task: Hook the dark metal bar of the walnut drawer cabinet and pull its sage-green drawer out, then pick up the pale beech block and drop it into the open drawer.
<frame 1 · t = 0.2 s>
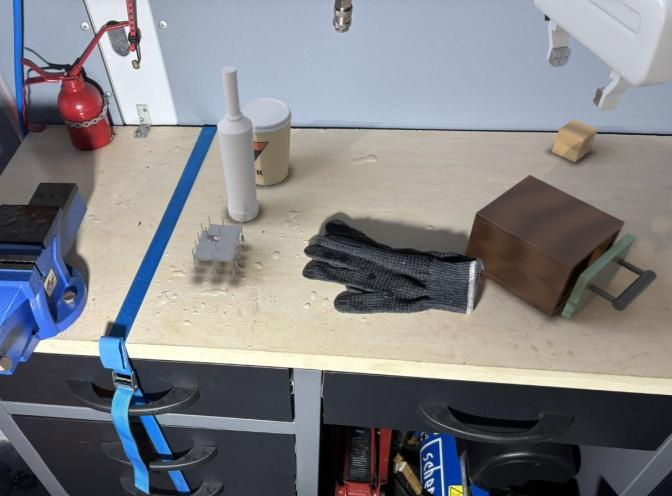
hand: (578, 84, 64), 31 cm above the table, tool pointing down, fingers open, 8 cm apart
beige lidded tub: (266, 173, 108), on the table
bottle: (243, 213, 100), on the table
cabinet: (530, 267, 89), on the table
drawer: (572, 262, 82), point 5 cm above the table, slide at 1.0 cm
block: (570, 151, 107), on the table
building frame: (221, 263, 92), on the table
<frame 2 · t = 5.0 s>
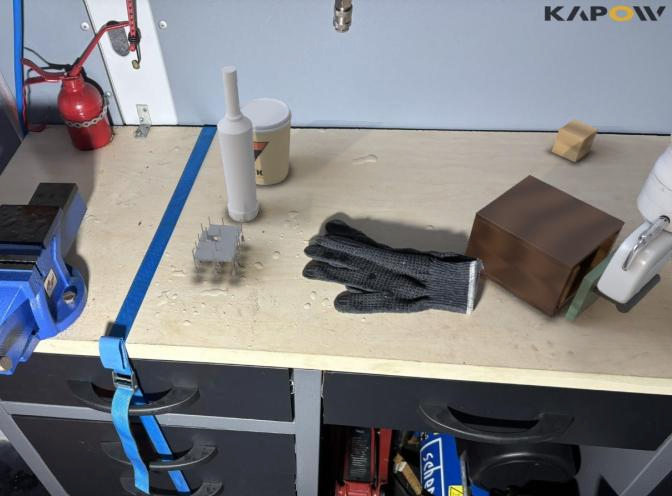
hand: (635, 285, 77), 7 cm above the table, tool pointing down, fingers closed, pressing on drawer
drawer: (576, 264, 82), point 5 cm above the table, slide at 1.6 cm, touching gripper
everything else where it was.
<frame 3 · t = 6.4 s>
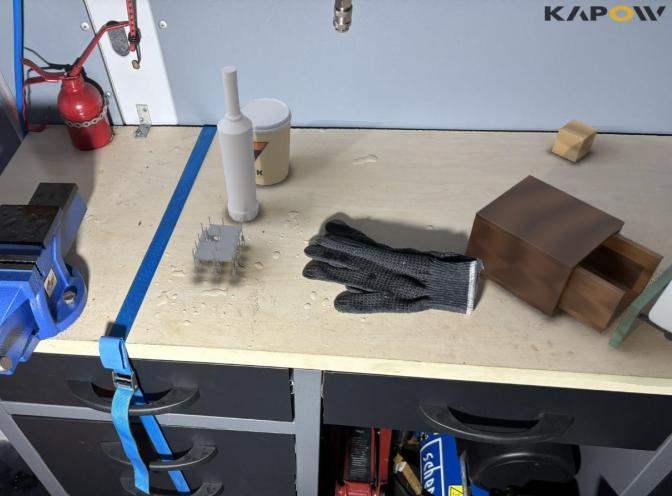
drawer: (618, 288, 79), point 5 cm above the table, slide at 7.6 cm, touching gripper
everything else where it was.
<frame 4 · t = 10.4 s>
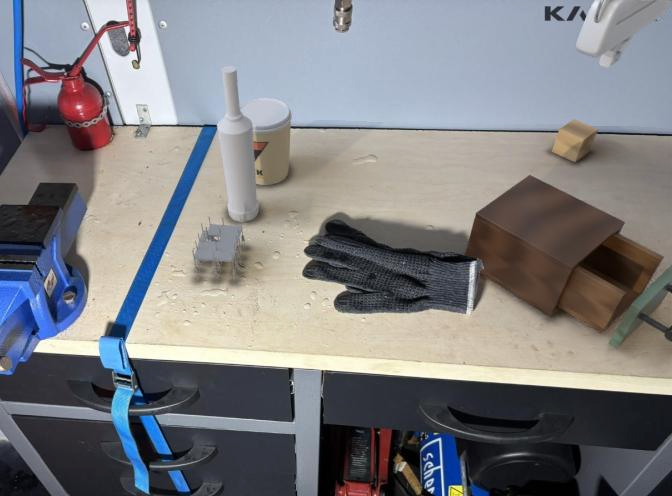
hand: (608, 63, 94), 17 cm above the table, tool pointing down, fingers closed
drawer: (619, 288, 79), point 5 cm above the table, slide at 7.7 cm
everything else where it was.
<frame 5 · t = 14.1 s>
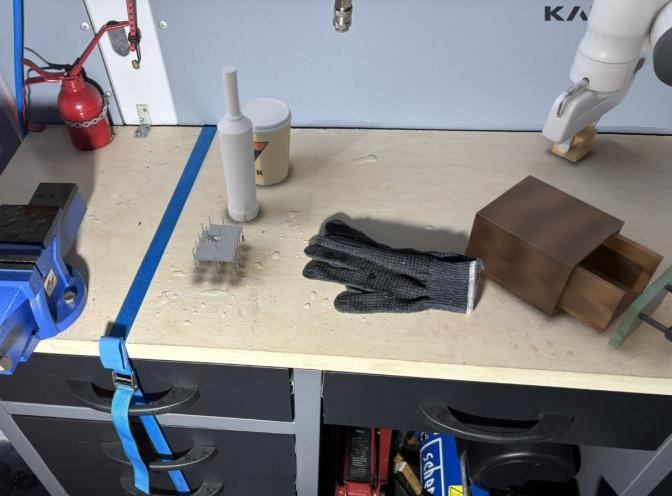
hand: (573, 143, 106), 2 cm above the table, tool pointing down, fingers closed on block, 4 cm apart
block: (570, 151, 107), on the table, touching gripper
everything else where it was.
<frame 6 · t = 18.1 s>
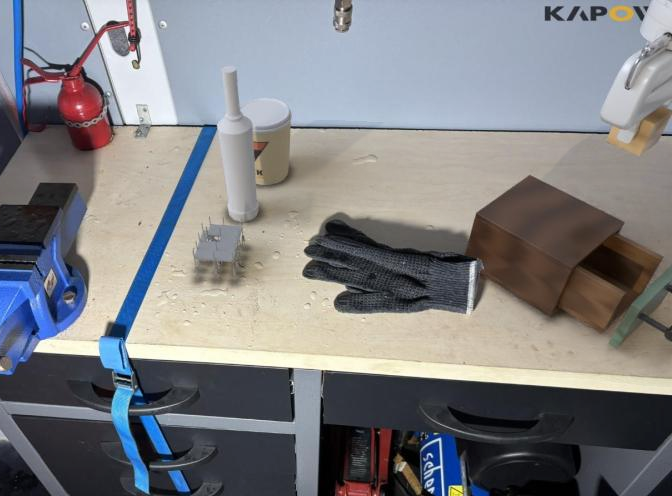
hand: (637, 130, 77), 20 cm above the table, tool pointing down, fingers closed on block, 4 cm apart
block: (631, 142, 78), point 18 cm above the table, touching gripper
everything else where it was.
when the fingers open (8 cm above the table, at t = 22.9 s): block stays where it is, resting on drawer.
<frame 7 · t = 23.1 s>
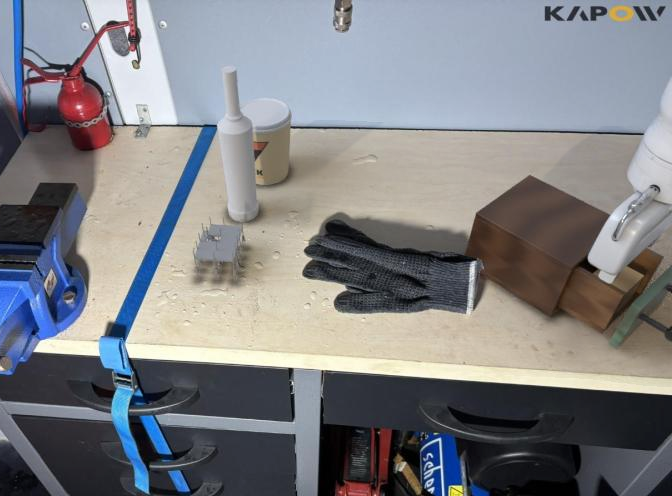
hand: (627, 259, 76), 9 cm above the table, tool pointing down, fingers open, 8 cm apart
drawer: (619, 288, 79), point 5 cm above the table, slide at 7.7 cm, touching block
block: (605, 298, 81), point 2 cm above the table, touching drawer
everything else where it was.
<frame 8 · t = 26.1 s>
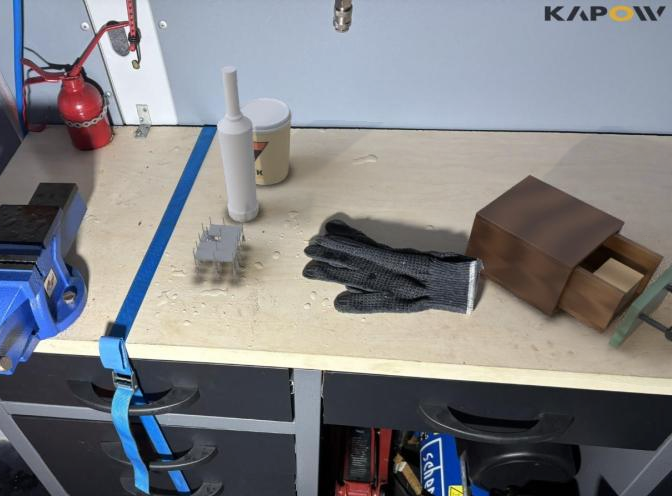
nothing on the table moved.
at the end: drawer slide at 7.7 cm; block inside the target area in the drawer (1.9 cm from its centre), point 2.0 cm above the cabinet's base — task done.
